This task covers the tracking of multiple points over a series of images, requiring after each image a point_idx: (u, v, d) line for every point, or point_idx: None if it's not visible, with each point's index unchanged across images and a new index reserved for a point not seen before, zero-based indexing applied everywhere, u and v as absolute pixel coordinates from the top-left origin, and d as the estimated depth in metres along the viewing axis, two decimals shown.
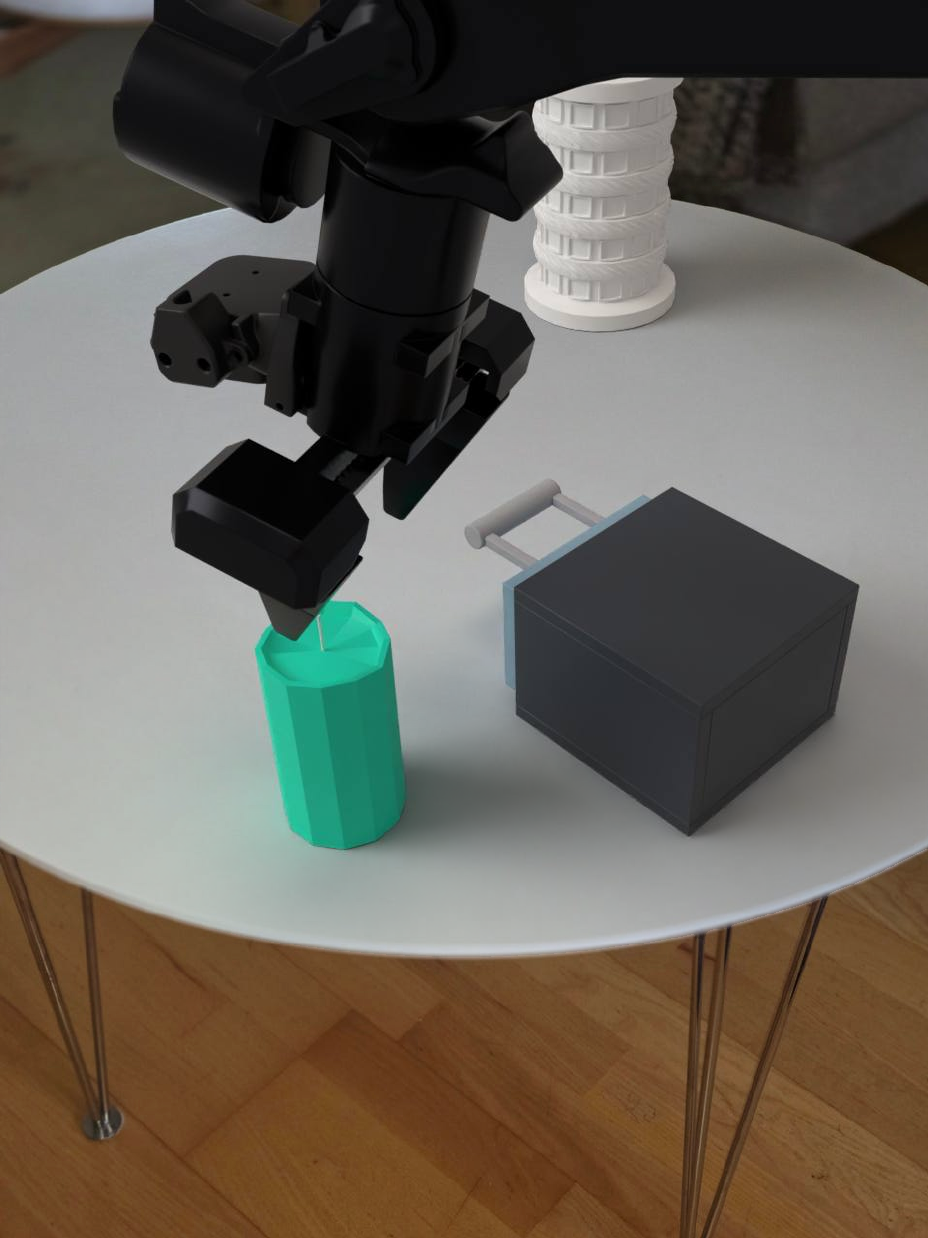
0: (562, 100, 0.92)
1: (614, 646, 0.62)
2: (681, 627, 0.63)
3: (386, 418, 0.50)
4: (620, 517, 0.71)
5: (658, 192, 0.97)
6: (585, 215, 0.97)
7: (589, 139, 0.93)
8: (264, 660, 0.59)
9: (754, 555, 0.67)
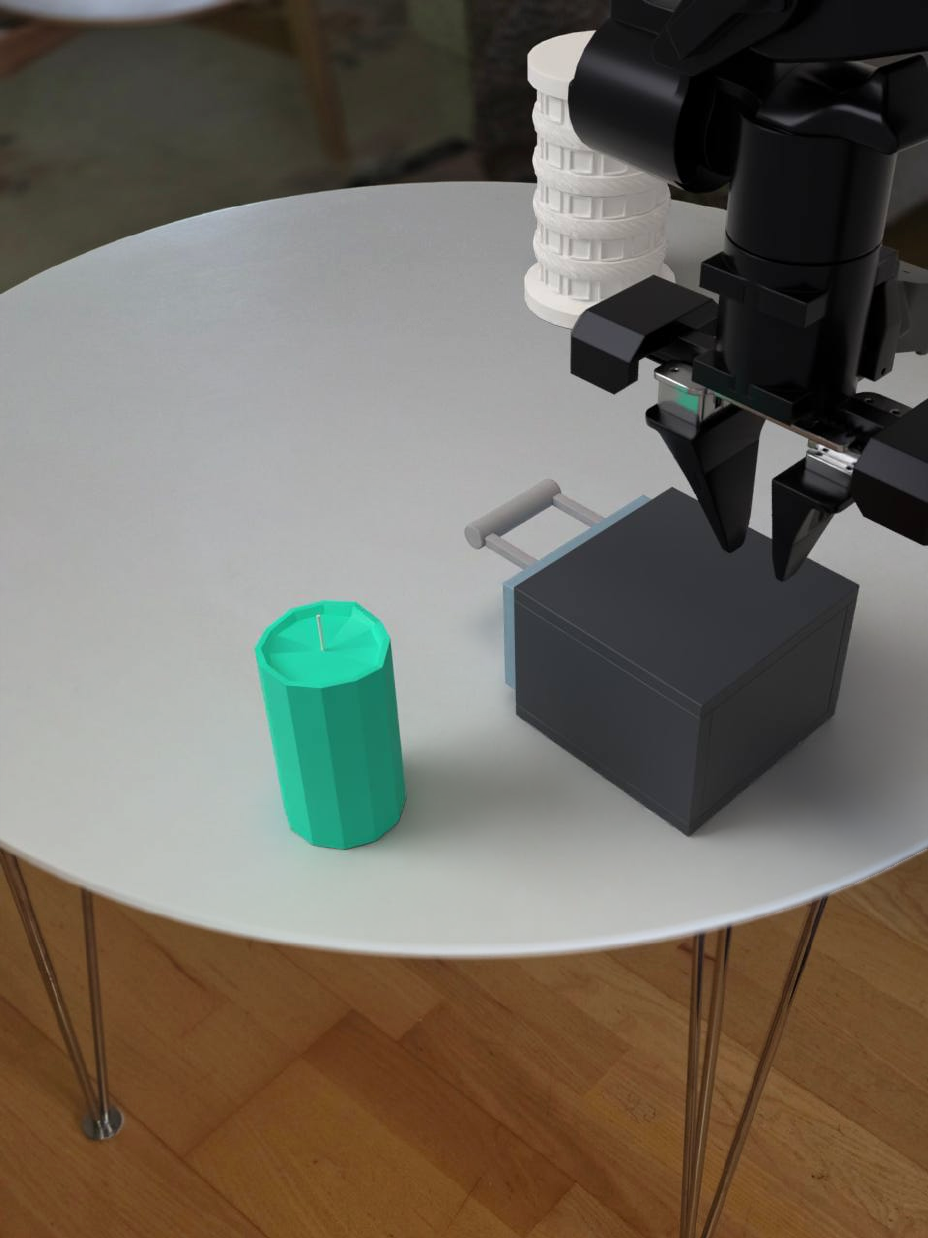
0: (562, 100, 0.92)
1: (614, 646, 0.62)
2: (681, 627, 0.63)
3: (715, 335, 0.54)
4: (620, 517, 0.71)
5: (658, 192, 0.97)
6: (585, 215, 0.97)
7: None
8: (264, 660, 0.59)
9: (754, 555, 0.67)
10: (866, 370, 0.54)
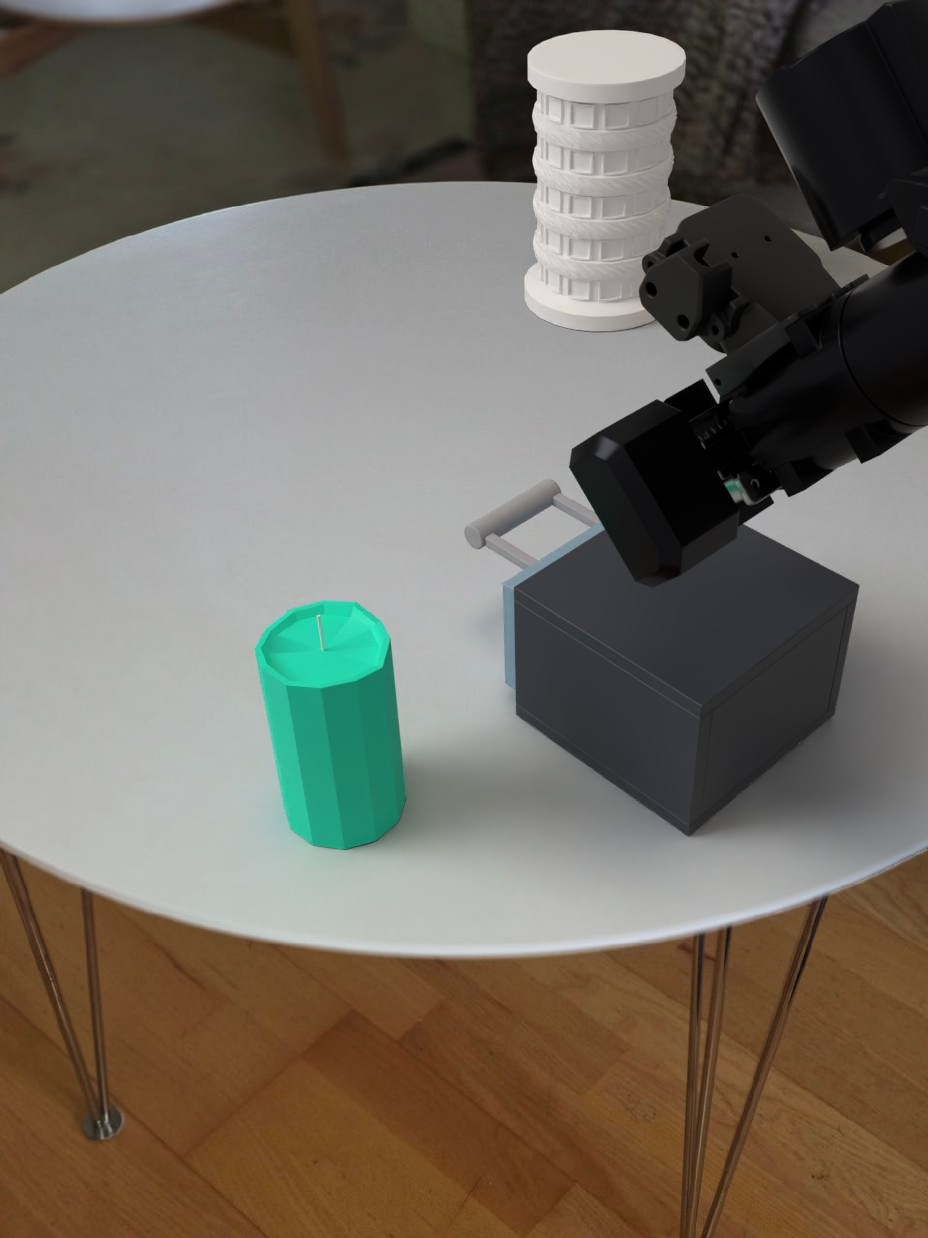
0: (562, 100, 0.92)
1: (614, 646, 0.62)
2: (681, 627, 0.63)
3: (801, 457, 0.52)
4: None
5: (658, 192, 0.97)
6: (585, 215, 0.97)
7: (590, 139, 0.93)
8: (264, 660, 0.59)
9: (754, 555, 0.67)
10: None
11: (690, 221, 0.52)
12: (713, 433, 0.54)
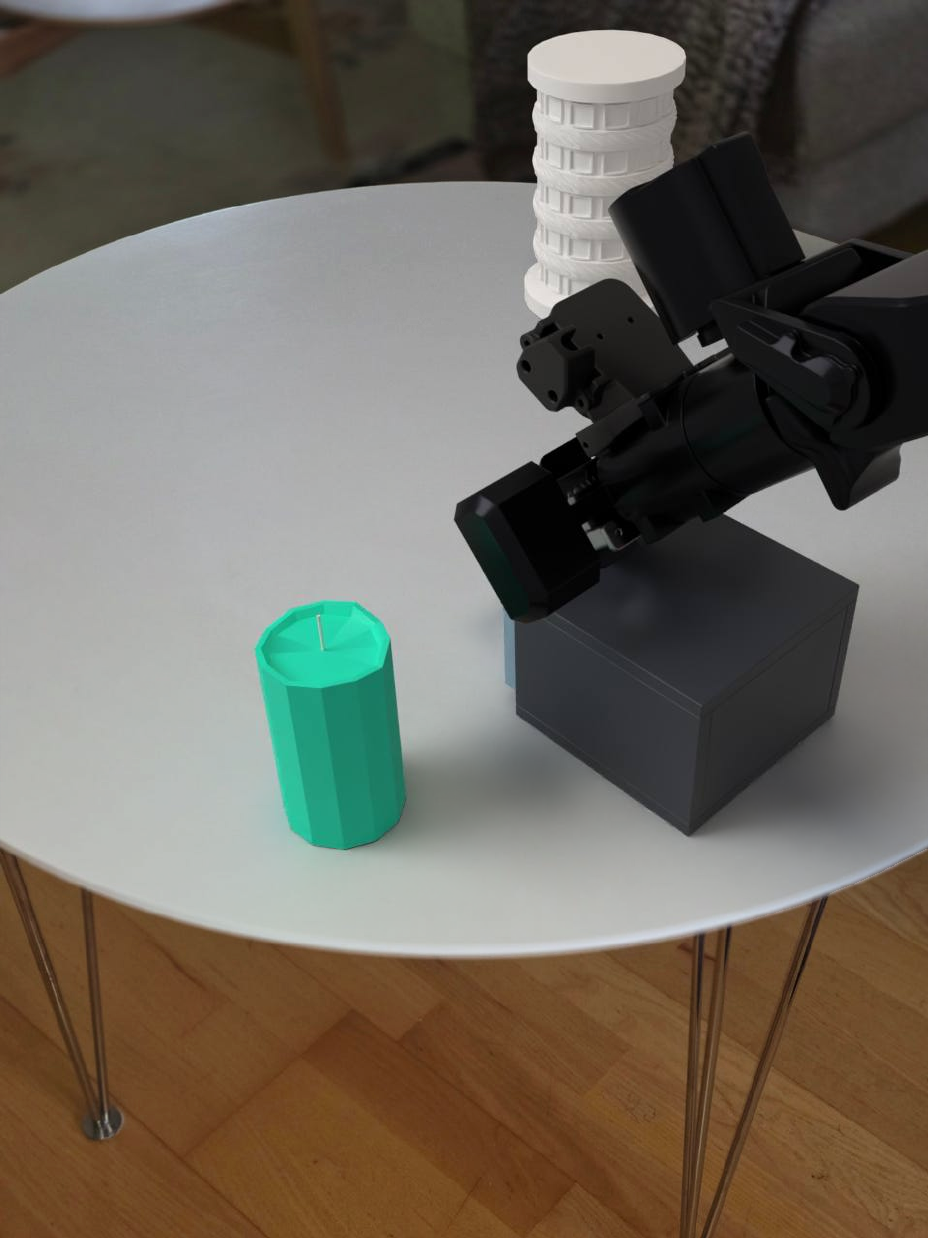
0: (562, 100, 0.92)
1: (614, 646, 0.62)
2: (681, 627, 0.63)
3: (656, 512, 0.60)
4: None
5: None
6: (585, 215, 0.97)
7: (590, 139, 0.93)
8: (264, 660, 0.59)
9: (754, 555, 0.67)
10: None
11: (562, 305, 0.60)
12: (582, 488, 0.62)
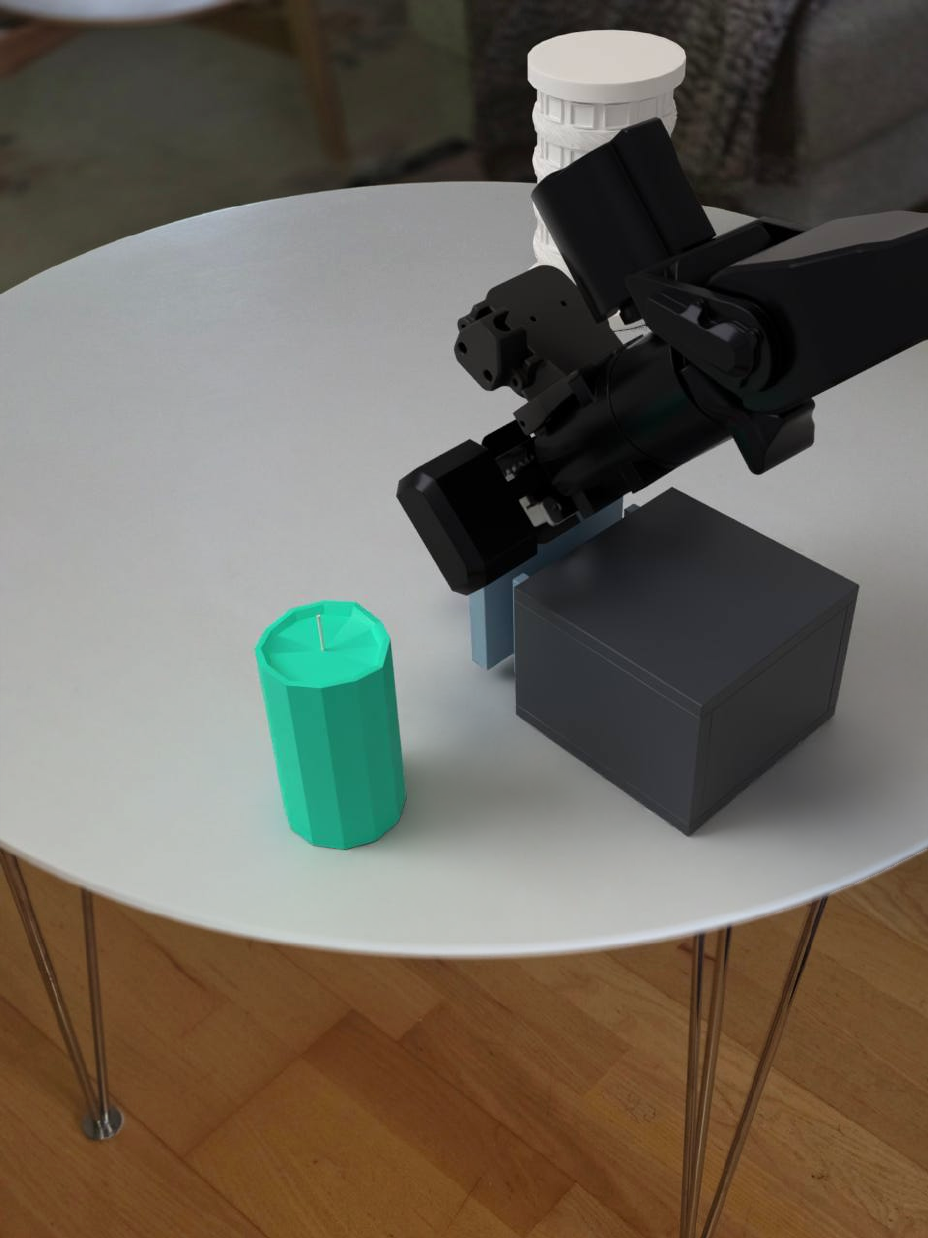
0: (562, 100, 0.92)
1: (614, 646, 0.62)
2: (681, 627, 0.63)
3: (590, 487, 0.63)
4: None
5: None
6: None
7: (590, 139, 0.93)
8: (264, 660, 0.59)
9: (754, 555, 0.67)
10: None
11: (497, 290, 0.63)
12: (521, 465, 0.64)
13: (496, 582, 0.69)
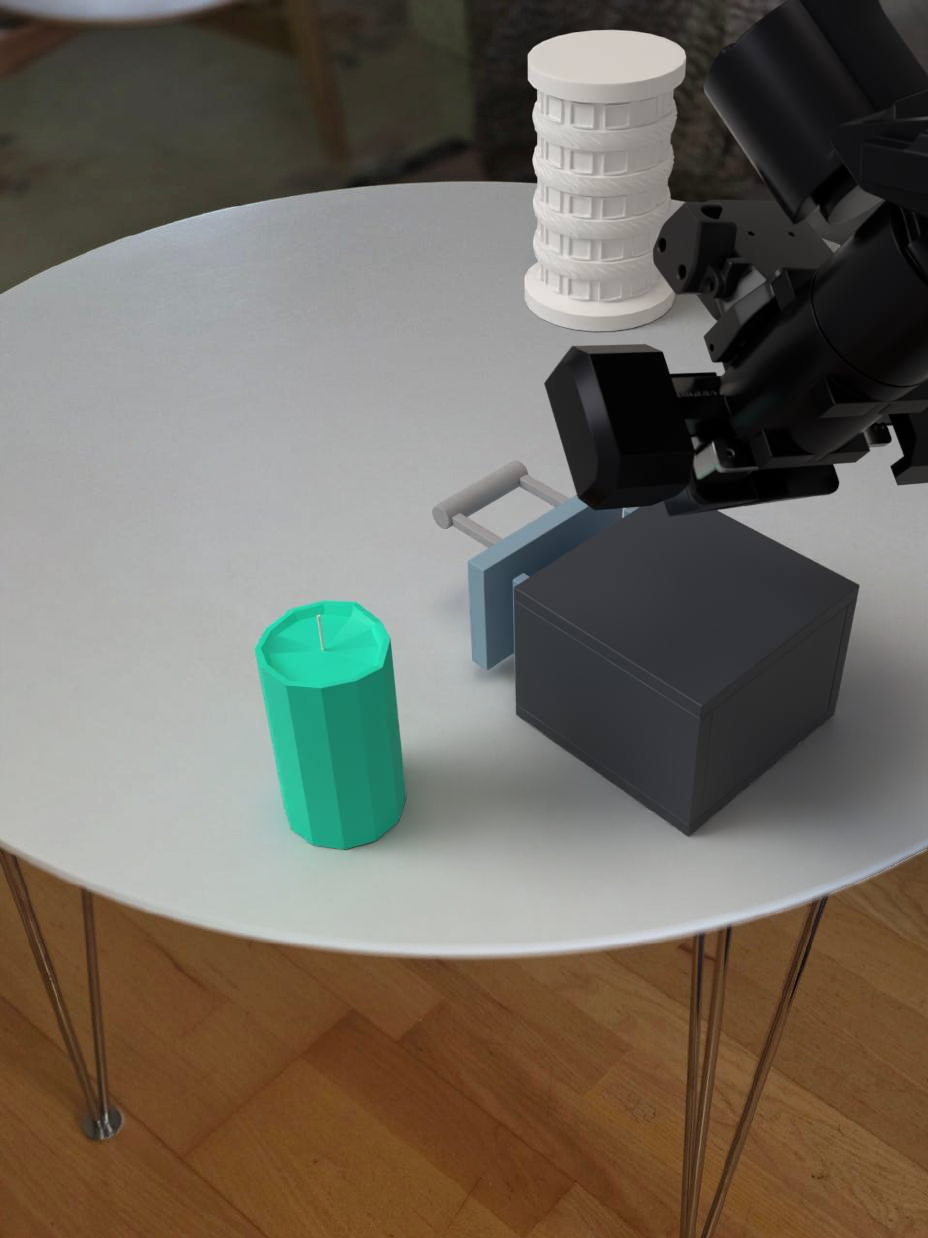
0: (562, 100, 0.92)
1: (614, 646, 0.62)
2: (681, 627, 0.63)
3: (773, 422, 0.52)
4: None
5: (658, 192, 0.97)
6: (585, 215, 0.97)
7: (590, 139, 0.93)
8: (264, 660, 0.59)
9: (754, 555, 0.67)
10: None
11: (718, 203, 0.55)
12: None
13: (496, 582, 0.69)
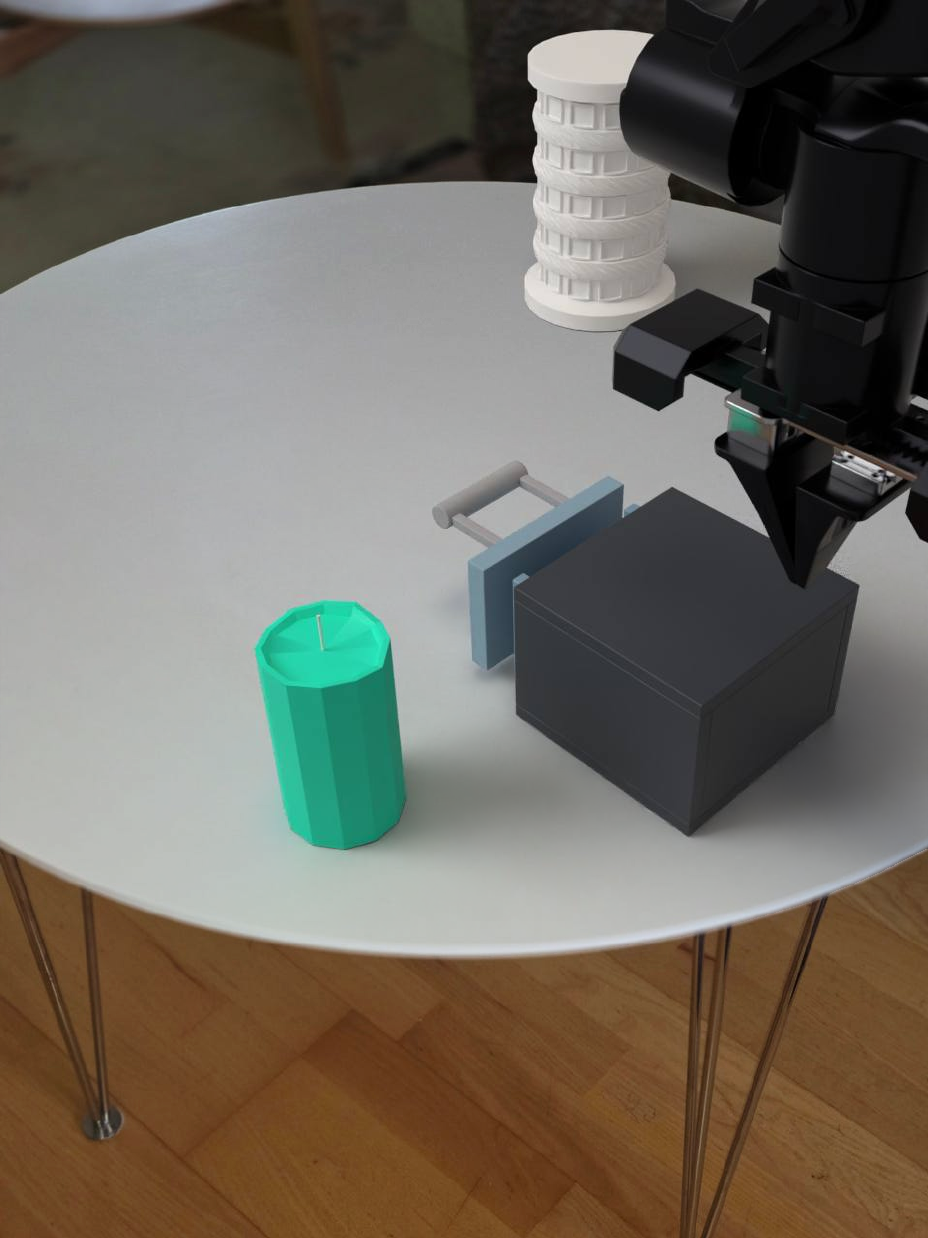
0: (562, 100, 0.92)
1: (614, 646, 0.62)
2: (681, 627, 0.63)
3: (765, 352, 0.53)
4: (584, 497, 0.72)
5: (658, 192, 0.97)
6: (585, 215, 0.97)
7: (590, 139, 0.93)
8: (264, 660, 0.59)
9: (754, 555, 0.67)
10: (920, 388, 0.53)
11: None
12: None
13: (496, 582, 0.69)
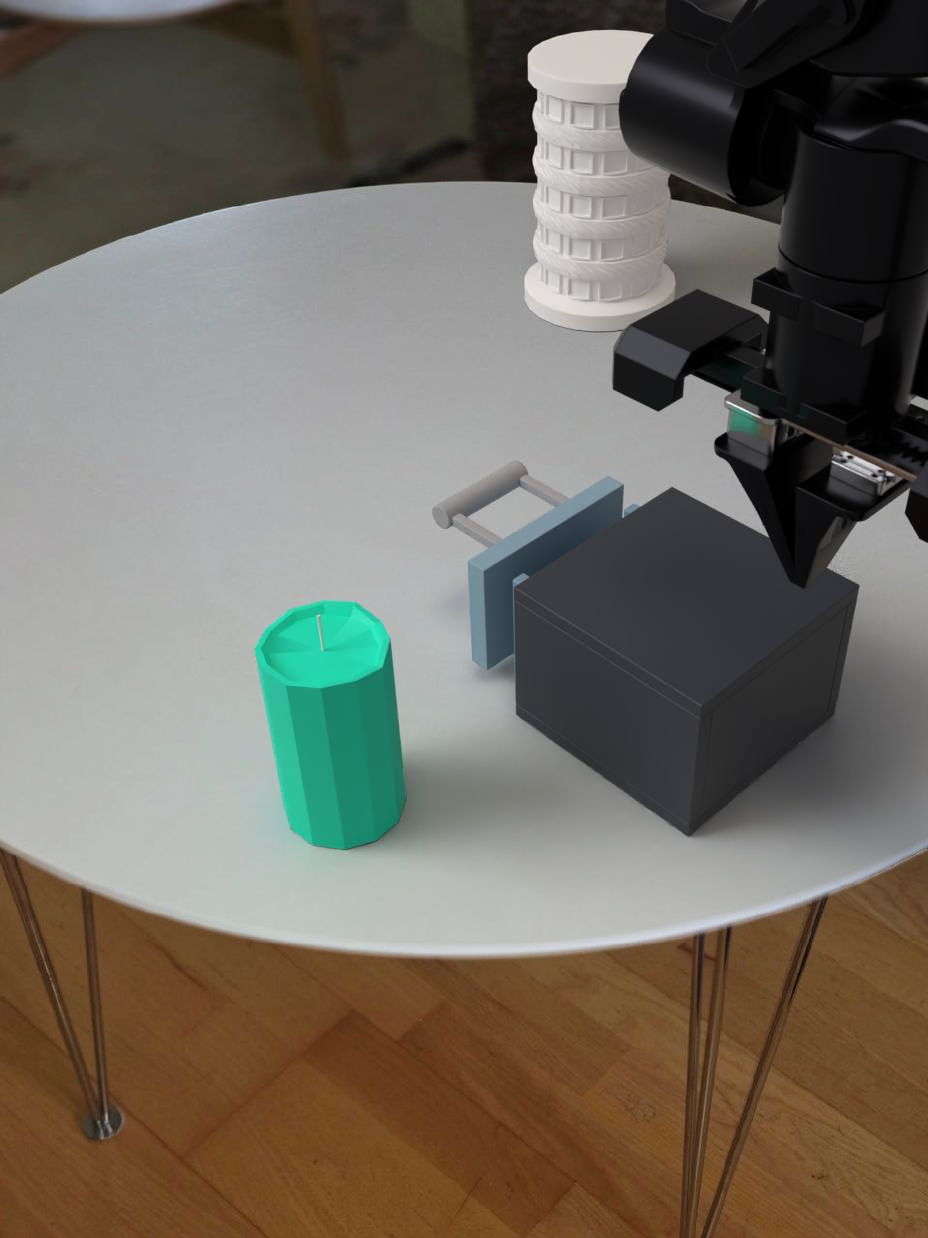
0: (562, 100, 0.92)
1: (614, 646, 0.62)
2: (681, 627, 0.63)
3: (765, 352, 0.53)
4: (584, 497, 0.72)
5: (658, 192, 0.97)
6: (585, 215, 0.97)
7: (590, 139, 0.93)
8: (264, 660, 0.59)
9: (754, 555, 0.67)
10: (919, 388, 0.53)
11: None
12: None
13: (496, 582, 0.69)
